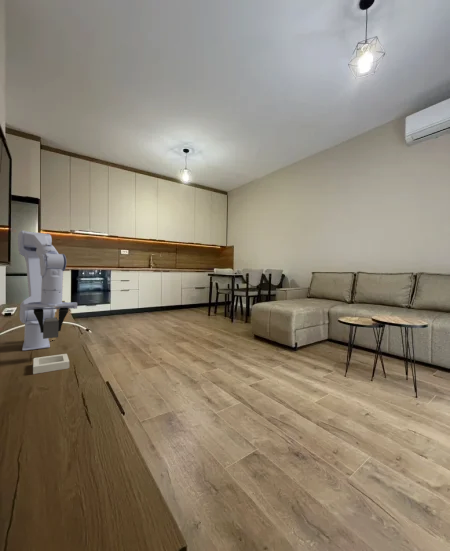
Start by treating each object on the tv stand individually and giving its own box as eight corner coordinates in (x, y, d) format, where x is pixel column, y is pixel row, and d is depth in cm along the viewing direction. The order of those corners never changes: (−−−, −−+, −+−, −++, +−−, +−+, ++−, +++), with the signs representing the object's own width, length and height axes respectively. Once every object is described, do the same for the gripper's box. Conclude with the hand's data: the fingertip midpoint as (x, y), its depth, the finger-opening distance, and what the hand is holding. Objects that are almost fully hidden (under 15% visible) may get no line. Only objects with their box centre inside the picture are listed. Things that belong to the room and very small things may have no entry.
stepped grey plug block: (42, 336, 83) (43, 317, 83) (57, 334, 85) (58, 317, 85) (43, 338, 80) (43, 319, 80) (58, 337, 82) (58, 319, 82)
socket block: (33, 364, 76) (33, 358, 76) (66, 359, 81) (66, 353, 81) (33, 374, 69) (33, 366, 69) (69, 368, 74) (69, 361, 74)
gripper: (23, 291, 75) (21, 336, 75) (79, 290, 84) (77, 331, 84) (24, 289, 81) (22, 331, 81) (76, 289, 89) (75, 327, 89)
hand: (50, 331), depth 83 cm, fingers closed on stepped grey plug block, 4 cm apart
